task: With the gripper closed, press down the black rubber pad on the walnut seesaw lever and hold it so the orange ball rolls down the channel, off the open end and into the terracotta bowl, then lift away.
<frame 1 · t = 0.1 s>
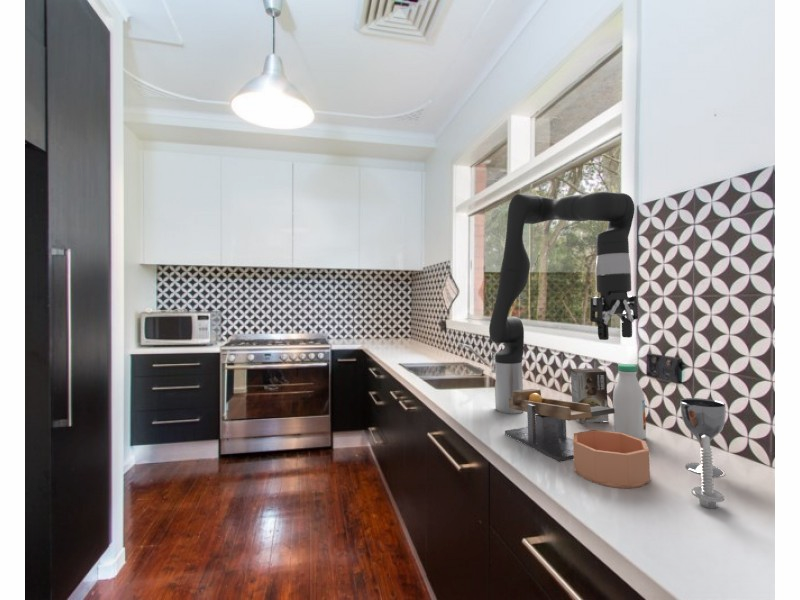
hand: (615, 338, 96), 29 cm above the worktop, tool pointing down, fingers open, 8 cm apart
ball: (535, 399, 109), point 11 cm above the worktop, tilted 15°, touching seesaw lever
milk bottle: (629, 437, 108), on the worktop
lever stand: (547, 443, 105), on the worktop
bowl: (610, 472, 86), on the worktop
wine glass: (704, 470, 86), on the worktop
coffee box: (589, 420, 124), on the worktop
screw: (708, 506, 72), on the worktop
seesaw lever: (555, 401, 106), point 11 cm above the worktop, hinge at -7.0°, touching ball
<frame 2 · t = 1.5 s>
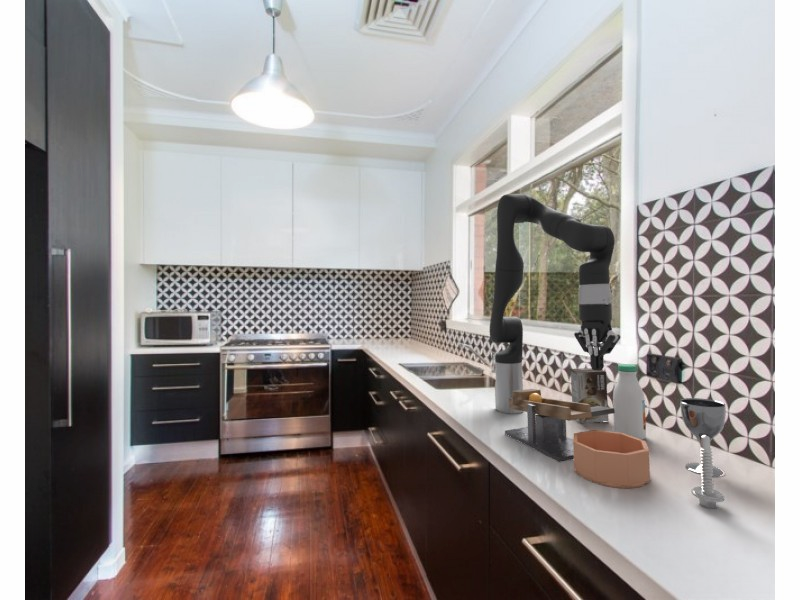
hand: (597, 369, 99), 21 cm above the worktop, tool pointing down, fingers closed
nothing on the worktop moved.
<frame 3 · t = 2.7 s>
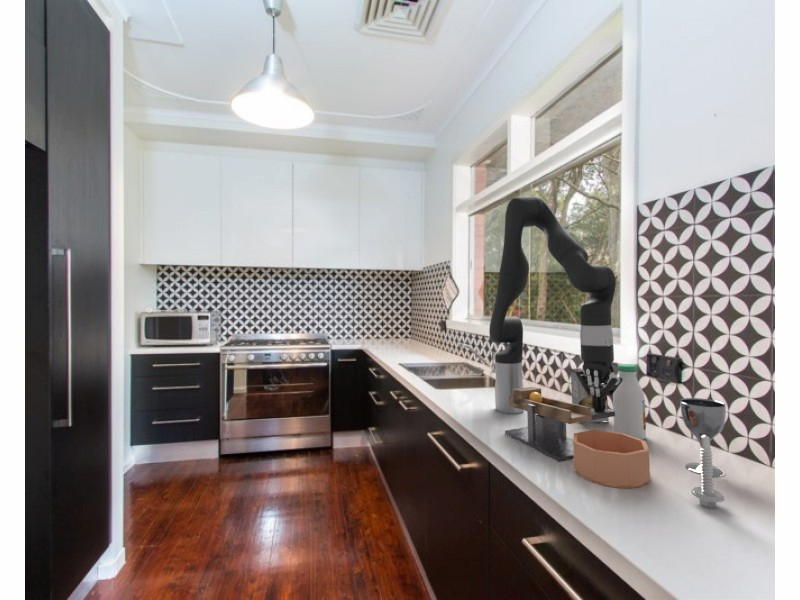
hand: (599, 410, 99), 10 cm above the worktop, tool pointing down, fingers closed
seesaw lever: (555, 401, 106), point 11 cm above the worktop, hinge at -3.3°, touching ball, gripper
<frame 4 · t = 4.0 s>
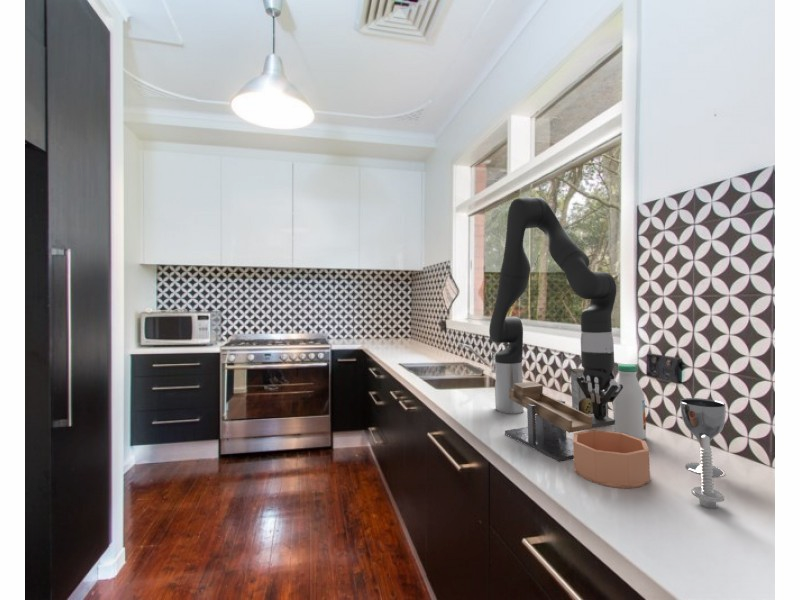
hand: (599, 417, 99), 9 cm above the worktop, tool pointing down, fingers closed
ball: (627, 469, 82), point 3 cm above the worktop, tilted 154°, touching bowl
seesaw lever: (556, 401, 106), point 11 cm above the worktop, hinge at 7.1°, touching gripper
everything else where it was.
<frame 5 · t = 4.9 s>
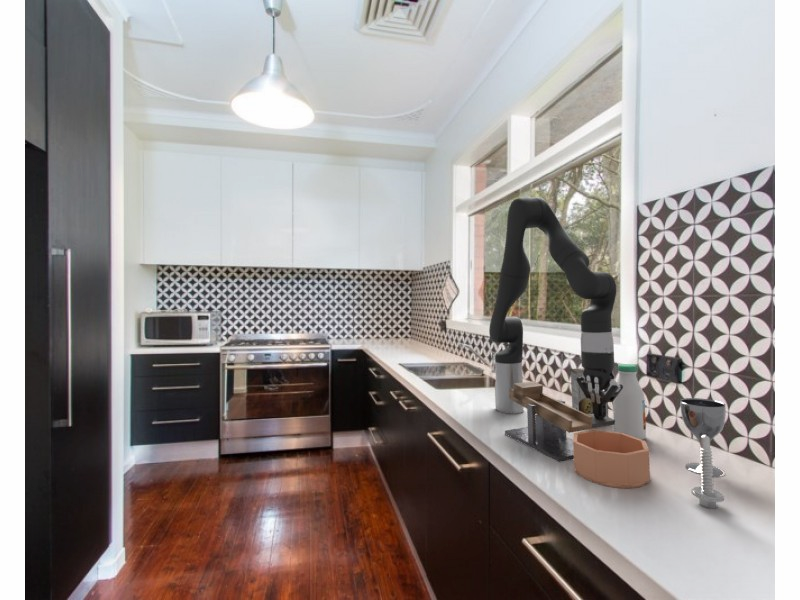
hand: (599, 417, 99), 9 cm above the worktop, tool pointing down, fingers closed
ball: (626, 468, 82), point 3 cm above the worktop, tilted 161°, touching bowl
everything else where it was.
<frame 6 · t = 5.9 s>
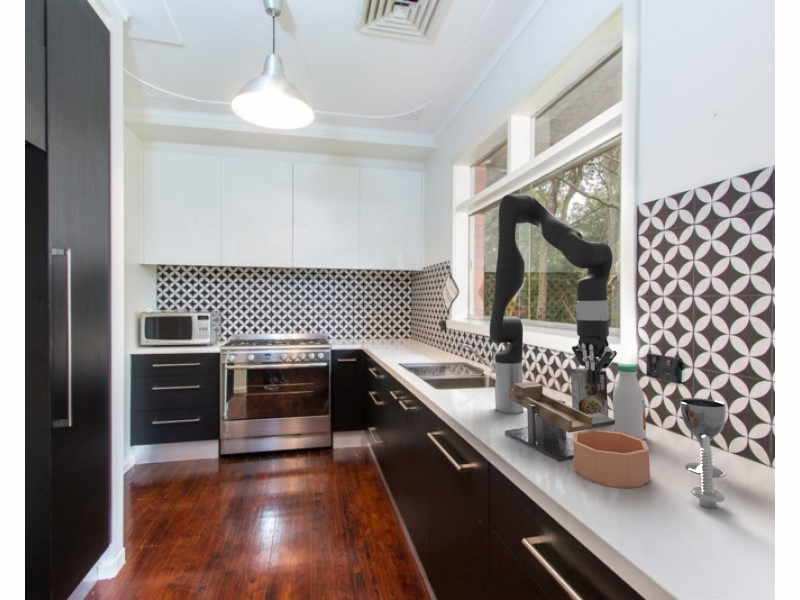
hand: (593, 383, 101), 17 cm above the worktop, tool pointing down, fingers closed
ball: (625, 468, 82), point 3 cm above the worktop, tilted 169°, touching bowl
seesaw lever: (556, 401, 106), point 11 cm above the worktop, hinge at 7.1°
everything else where it was.
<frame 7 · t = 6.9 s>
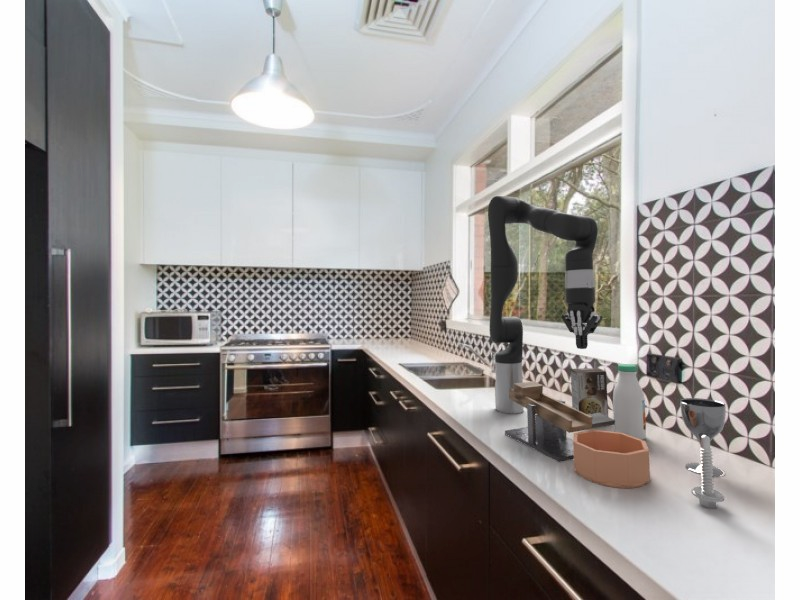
hand: (581, 348, 108), 25 cm above the worktop, tool pointing down, fingers closed
ball: (624, 467, 82), point 3 cm above the worktop, tilted 177°, touching bowl
everything else where it was.
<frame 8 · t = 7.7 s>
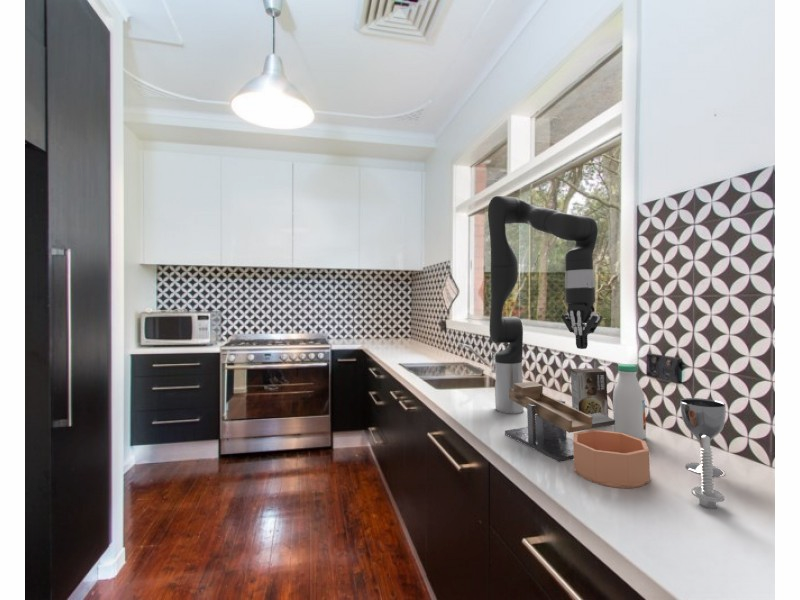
hand: (581, 348, 108), 25 cm above the worktop, tool pointing down, fingers closed
nothing on the worktop moved.
at the end: ball inside the target area on the bowl (3.6 cm from its centre), point 2.6 cm above the bowl's base; ball moved 28.9 cm from its start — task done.
